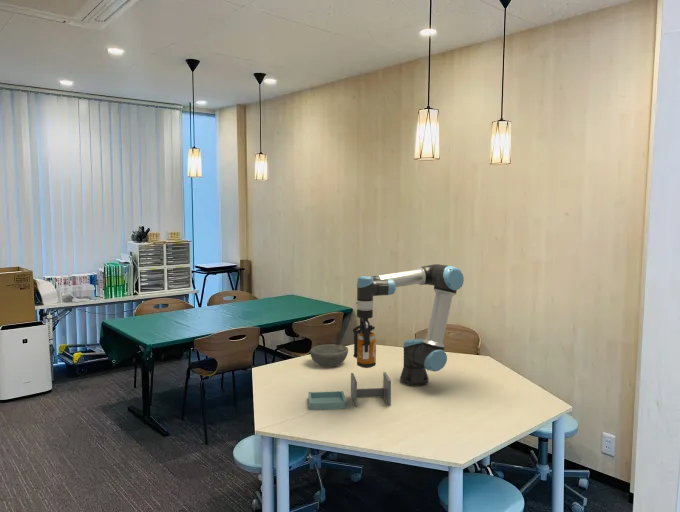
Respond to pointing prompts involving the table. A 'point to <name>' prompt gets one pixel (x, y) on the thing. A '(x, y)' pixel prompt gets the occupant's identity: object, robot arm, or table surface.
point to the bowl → (329, 354)
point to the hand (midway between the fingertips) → (364, 355)
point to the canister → (359, 348)
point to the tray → (327, 400)
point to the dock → (371, 390)
